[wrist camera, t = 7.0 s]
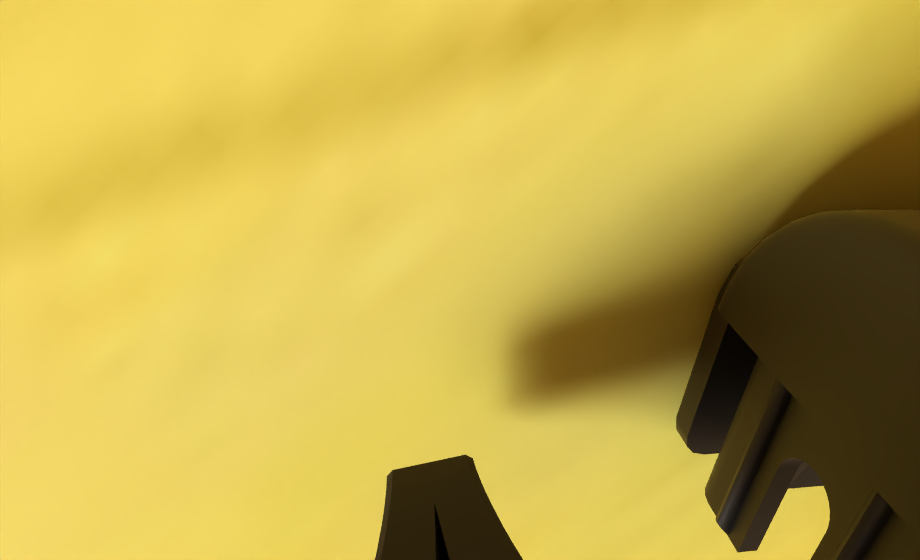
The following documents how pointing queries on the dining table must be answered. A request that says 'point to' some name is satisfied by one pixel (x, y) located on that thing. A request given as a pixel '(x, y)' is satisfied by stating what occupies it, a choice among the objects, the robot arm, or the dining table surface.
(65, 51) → the dining table surface
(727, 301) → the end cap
